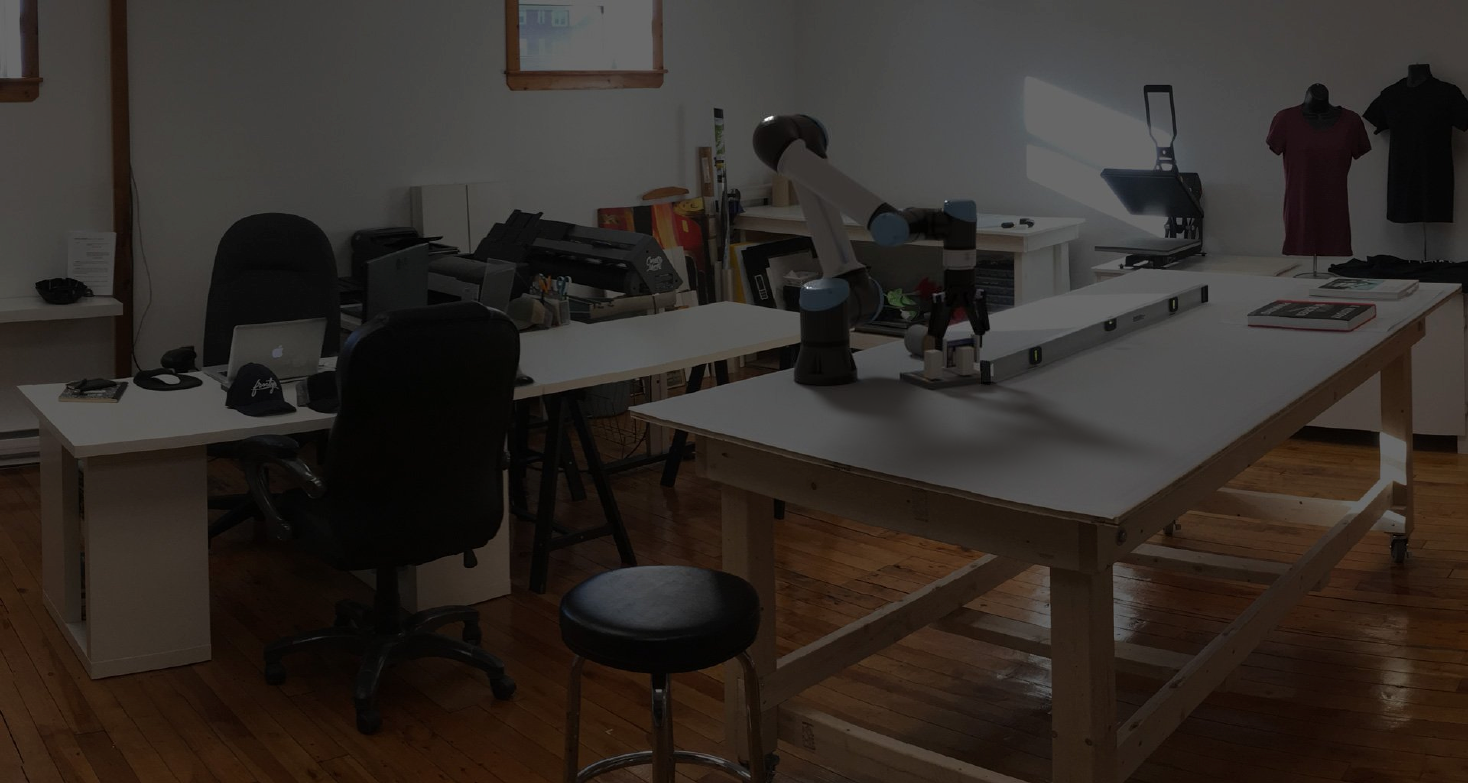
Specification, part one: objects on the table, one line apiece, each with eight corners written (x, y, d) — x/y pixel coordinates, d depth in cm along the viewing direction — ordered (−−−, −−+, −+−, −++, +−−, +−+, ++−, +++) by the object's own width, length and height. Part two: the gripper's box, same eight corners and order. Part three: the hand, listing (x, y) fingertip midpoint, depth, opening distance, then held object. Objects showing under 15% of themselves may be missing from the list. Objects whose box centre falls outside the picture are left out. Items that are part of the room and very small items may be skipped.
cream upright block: (931, 379, 294) (931, 352, 293) (924, 376, 297) (924, 350, 295) (942, 377, 295) (942, 351, 294) (935, 375, 298) (935, 349, 297)
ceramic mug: (922, 359, 327) (923, 329, 326) (903, 354, 334) (903, 325, 333) (955, 355, 332) (956, 326, 331) (935, 350, 339) (936, 322, 338)
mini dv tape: (947, 367, 298) (947, 342, 297) (943, 367, 300) (943, 341, 298) (973, 363, 303) (974, 338, 301) (969, 362, 304) (969, 337, 303)
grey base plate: (931, 389, 292) (931, 383, 291) (899, 379, 304) (899, 372, 304) (994, 381, 298) (994, 375, 298) (960, 371, 311) (960, 365, 310)
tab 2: (962, 375, 297) (962, 349, 296) (955, 373, 300) (955, 347, 299) (973, 373, 298) (973, 348, 297) (966, 371, 301) (966, 346, 300)
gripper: (928, 272, 289) (928, 371, 294) (1007, 265, 297) (1005, 362, 302) (911, 269, 296) (911, 365, 300) (988, 262, 304) (987, 356, 308)
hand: (958, 363), depth 301 cm, fingers closed on mini dv tape, 8 cm apart
